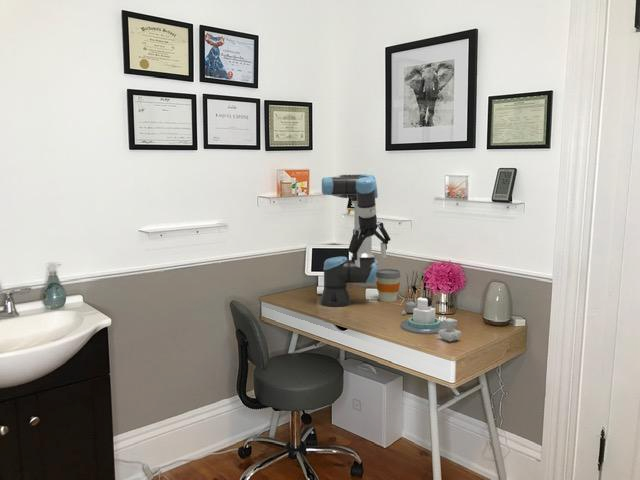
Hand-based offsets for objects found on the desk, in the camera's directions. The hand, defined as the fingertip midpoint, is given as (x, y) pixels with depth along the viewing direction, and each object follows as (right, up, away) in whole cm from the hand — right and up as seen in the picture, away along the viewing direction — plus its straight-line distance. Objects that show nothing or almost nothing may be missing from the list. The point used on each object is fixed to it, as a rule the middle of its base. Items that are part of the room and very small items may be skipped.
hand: (370, 261), depth 232 cm
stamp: (+30, -31, -16) cm, 46 cm away
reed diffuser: (+21, -25, +22) cm, 40 cm away
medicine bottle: (+23, -27, +1) cm, 36 cm away
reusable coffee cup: (+13, -22, +48) cm, 55 cm away
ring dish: (+23, -28, +1) cm, 36 cm away
